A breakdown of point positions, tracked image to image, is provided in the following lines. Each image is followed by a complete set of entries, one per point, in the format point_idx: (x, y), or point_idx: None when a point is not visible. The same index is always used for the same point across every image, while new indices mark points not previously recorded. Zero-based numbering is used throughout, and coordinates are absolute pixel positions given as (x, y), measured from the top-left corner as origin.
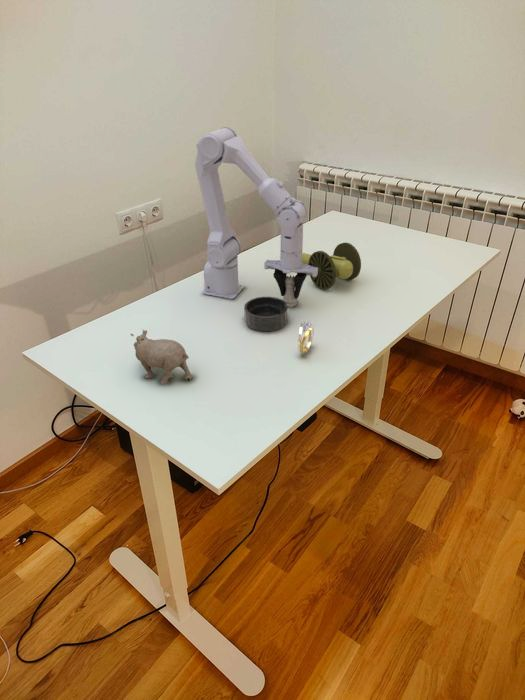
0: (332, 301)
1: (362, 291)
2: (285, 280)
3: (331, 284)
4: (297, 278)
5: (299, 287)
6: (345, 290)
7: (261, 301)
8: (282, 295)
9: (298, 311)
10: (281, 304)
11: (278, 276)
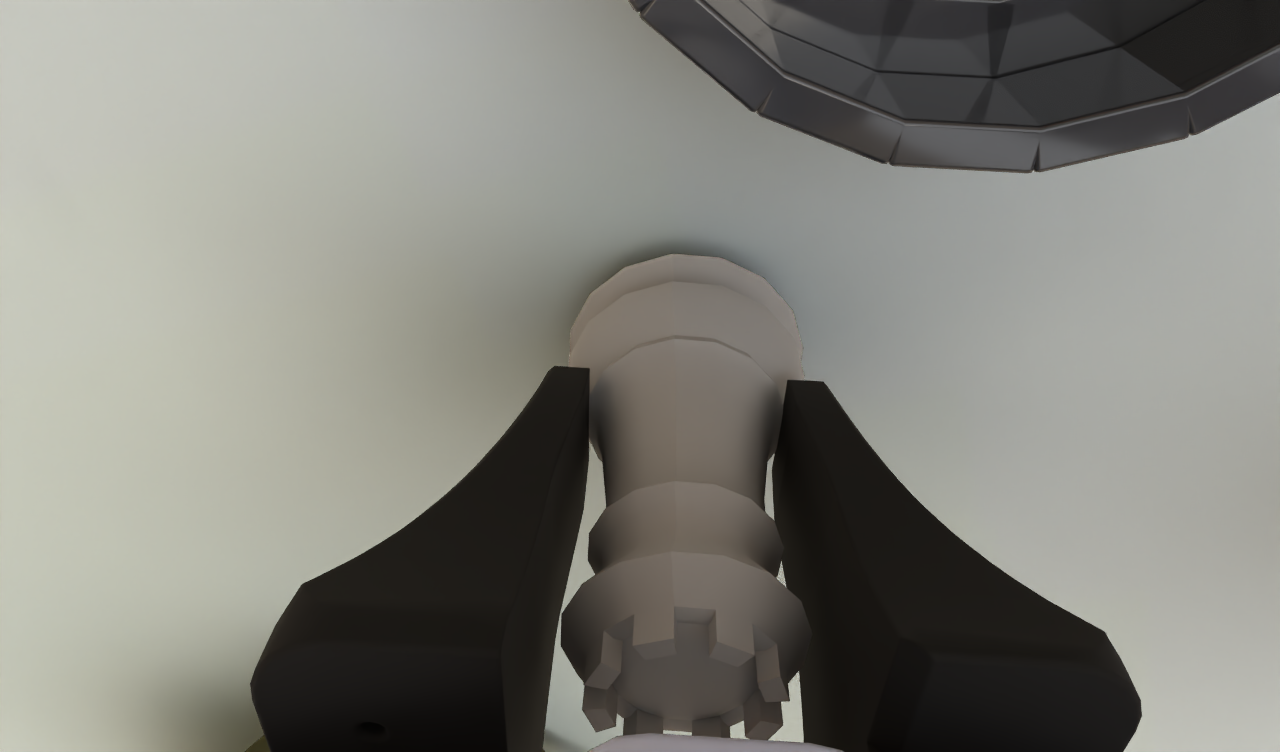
0: (219, 518)
1: (66, 723)
2: (785, 616)
3: (265, 740)
4: (399, 639)
5: (449, 492)
6: (218, 711)
7: (1203, 31)
8: (804, 385)
9: (507, 191)
10: (735, 11)
11: (977, 645)
